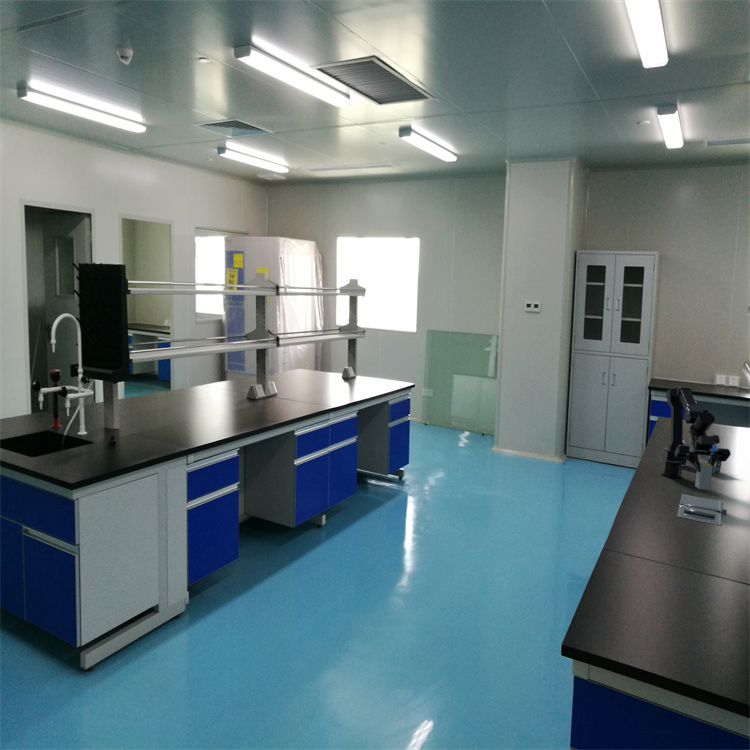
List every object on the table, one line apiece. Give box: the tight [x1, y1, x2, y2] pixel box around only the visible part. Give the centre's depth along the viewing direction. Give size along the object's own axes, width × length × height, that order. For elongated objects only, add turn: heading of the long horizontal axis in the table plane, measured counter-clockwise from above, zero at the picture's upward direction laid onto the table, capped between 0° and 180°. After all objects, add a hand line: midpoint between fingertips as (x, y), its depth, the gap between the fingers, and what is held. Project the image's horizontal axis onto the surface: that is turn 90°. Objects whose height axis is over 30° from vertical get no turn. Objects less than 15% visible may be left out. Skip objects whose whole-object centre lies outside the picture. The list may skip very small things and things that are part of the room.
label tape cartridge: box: [699, 444, 722, 474], centre depth 281 cm, size 9×4×12 cm, turn 105°
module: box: [694, 461, 713, 491], centre depth 236 cm, size 4×4×10 cm
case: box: [676, 493, 728, 526], centre depth 230 cm, size 29×16×2 cm, turn 151°
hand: (705, 472), depth 234 cm, fingers closed on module, 4 cm apart
